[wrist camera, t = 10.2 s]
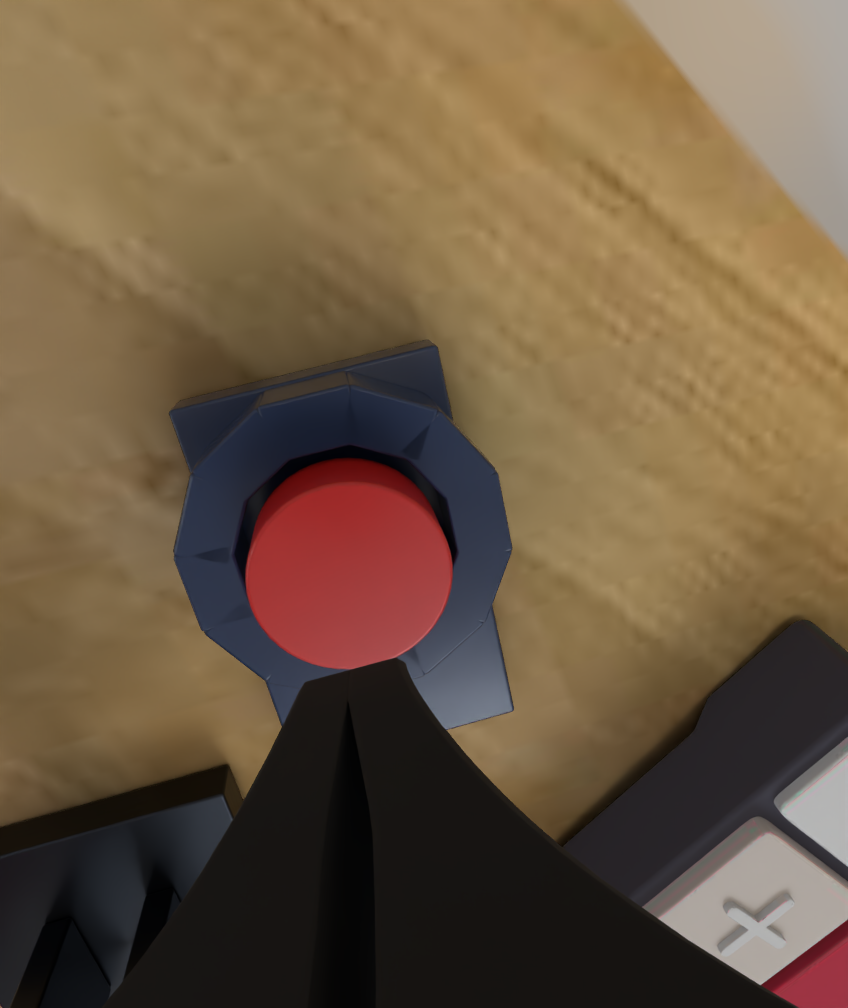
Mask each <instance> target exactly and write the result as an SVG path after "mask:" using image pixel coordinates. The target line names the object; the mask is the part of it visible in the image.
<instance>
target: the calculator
mask: <svg viewBox="0 0 848 1008" xmlns="http://www.w3.org/2000/svg"><path fill="white" fill-rule="evenodd" d="M563 848H564V849H565V850H566V851H568V852H569V853H570V854H571V855H573V856H574V857H575V858H576V859H578V860H579V861H580V862H581V863H583V864H584V865H585V866H586V867H587V868H589V869H590V870H591V871H592V872H594V873H595V874H596V875H597V876H599V877H600V878H601V879H603V880H604V881H605V882H607V883H608V884H610V885H611V886H613V887H614V888H615V889H617V890H618V891H620V892H621V893H622V894H624V895H625V896H627V897H628V898H630V899H631V900H632V901H634V902H635V903H637V904H638V905H639V906H641V907H642V908H644V909H645V910H647V911H648V912H649V913H651V914H652V915H654V916H655V917H657V918H658V919H659V920H661V921H662V922H664V923H665V924H666V925H668V926H669V927H671V928H672V929H674V930H675V931H676V932H678V933H679V934H681V935H682V936H683V937H685V938H686V939H688V940H689V941H691V942H692V943H694V944H696V945H697V946H699V947H700V948H702V949H704V950H705V951H707V952H708V953H710V954H712V955H713V956H715V957H716V958H718V959H719V960H721V961H723V962H724V963H726V964H727V965H729V966H731V967H732V968H734V969H735V970H737V971H739V972H740V973H742V974H743V975H745V976H747V977H748V978H750V979H751V980H753V981H755V982H756V983H758V984H759V985H761V986H763V987H764V988H766V989H768V990H770V991H771V992H773V993H775V994H776V995H778V996H780V997H782V998H783V999H785V1000H787V1001H789V1002H790V1003H792V1004H794V1005H795V1006H797V1007H799V1008H848V652H847V651H846V650H845V649H844V648H842V647H841V646H840V645H839V644H838V643H836V642H835V641H834V640H833V639H832V638H831V637H829V636H828V635H827V634H826V633H825V632H823V631H822V630H821V629H820V628H819V627H817V626H816V625H815V624H813V623H812V622H810V621H808V620H800V621H797V622H794V623H793V624H791V625H790V626H789V627H788V628H787V629H785V630H784V631H783V632H782V633H781V634H780V635H778V636H777V637H776V638H775V639H774V640H773V641H772V642H771V643H769V644H768V645H767V646H766V647H765V648H764V649H763V650H762V651H760V652H759V653H758V654H757V655H756V656H755V657H754V658H753V659H751V660H750V661H749V662H748V663H747V664H746V665H745V666H743V667H742V668H741V669H740V670H739V671H738V672H737V673H736V674H734V675H733V676H732V677H731V678H730V679H729V680H728V681H727V682H725V683H724V684H723V685H722V686H721V687H720V688H719V689H717V690H716V691H715V692H714V693H713V694H712V695H711V696H710V697H709V698H708V699H707V701H706V704H705V706H704V709H703V711H702V713H701V716H700V718H699V720H698V723H697V725H696V727H695V730H694V731H693V732H692V733H691V734H690V735H689V736H688V737H687V738H686V739H685V740H684V741H682V742H681V743H680V744H679V745H678V746H677V747H676V748H674V749H673V750H672V751H671V752H670V753H669V754H668V755H666V756H665V757H664V758H663V759H662V760H661V761H660V762H659V763H657V764H656V765H655V766H654V767H653V768H652V769H651V770H649V771H648V772H647V773H646V774H645V775H644V776H643V777H641V778H640V779H639V780H638V781H637V782H636V783H635V784H633V785H632V786H631V787H630V788H629V789H628V790H627V791H625V792H624V793H623V794H622V795H621V796H620V797H619V798H617V799H616V800H615V801H614V802H613V803H612V804H611V805H609V806H608V807H607V808H606V809H605V810H604V811H603V812H601V813H600V814H599V815H598V816H597V817H596V818H595V819H593V820H592V821H591V822H590V823H589V824H588V825H587V826H585V827H584V828H583V829H582V830H581V831H580V832H579V833H577V834H576V835H575V836H574V837H573V838H572V839H571V840H569V841H568V842H567V843H566V844H565V845H564V846H563Z"/></svg>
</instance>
